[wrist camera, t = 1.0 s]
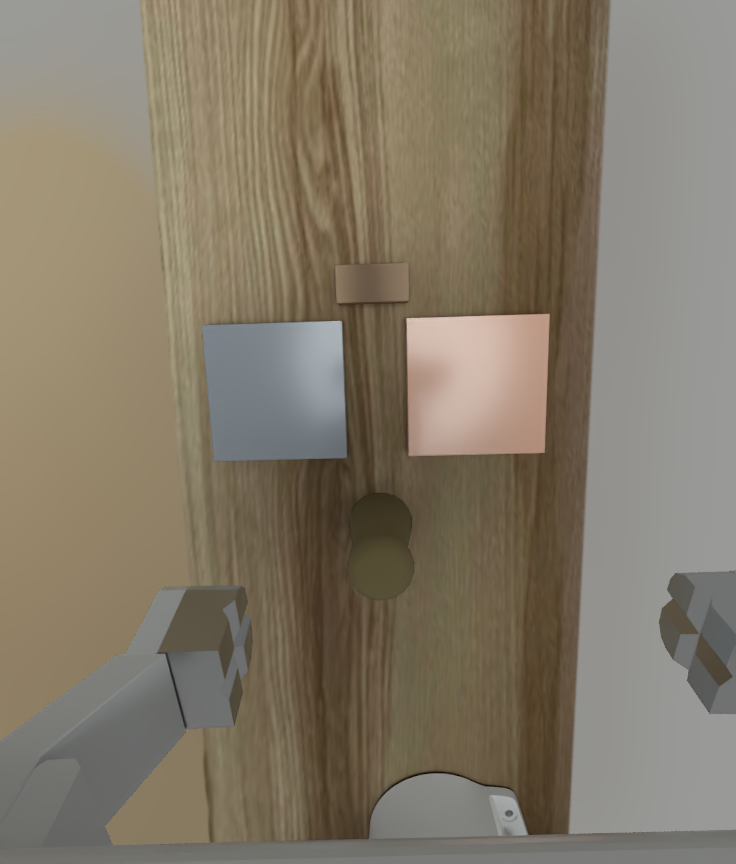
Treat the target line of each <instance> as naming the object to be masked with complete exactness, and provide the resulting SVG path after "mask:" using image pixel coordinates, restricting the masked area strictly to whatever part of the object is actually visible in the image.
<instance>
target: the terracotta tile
mask: <svg viewBox="0 0 736 864" xmlns="http://www.w3.org/2000/svg"><path fill="white" fill-rule="evenodd" d="M549 316H550V314H529V315H498V316H466V317H435V318H407V319H406V379H407V442H408V455H409V456H432V455H473V454H514V453H545V426H546V399H547V371H548V344H549Z"/></svg>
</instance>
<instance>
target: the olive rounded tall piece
mask: <svg viewBox="0 0 736 864" xmlns="http://www.w3.org/2000/svg"><path fill="white" fill-rule="evenodd" d="M349 527H350V533H351V538H352V543H353V549H352V550H351V552H350V555H349V559H348V563H347V564H348V575H349V577H350V580H351V582H352V585H353V586H354V587H355V588H356V590H357V591H358V592H359V593H361V594H362V595H364V596H365V597H367V598H370V599H374V600H389V599H392V598H395V597H397V596H398V595H400V594H401V593H403V592H404V591H405V590H406V588H407V587H408V586H409V584H410V582H411V579H412V577H413V574H414V560H413V557H412V554H411V551H410V549H409V548H408V544H409V539H410V534H411V528H412V517H411V515H410V512H409V509H408V508H407V506H406V505H405V504H404V502H403V501H401V500H400V499H398V498H397V497H395V496H394V495H390V494H387V493H374V494H371V495H368V496H365V497H364V498H362V499H361V500H360V501H358V502H357V503H356V505H355V506H354V508H353V509H352V511H351V514H350V518H349Z"/></svg>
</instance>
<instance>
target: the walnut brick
mask: <svg viewBox="0 0 736 864" xmlns="http://www.w3.org/2000/svg"><path fill="white" fill-rule="evenodd" d="M335 275H336V299H337V304H339V305H351V304H381V303H407V302H408V301H409V267H408V263H387V264H359V265H335Z"/></svg>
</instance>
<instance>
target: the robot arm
mask: <svg viewBox="0 0 736 864" xmlns="http://www.w3.org/2000/svg"><path fill="white" fill-rule="evenodd" d="M667 590H668V592H669V594H670V595H671V597H672V598H673V599H672V600H671V601H670V602H668V603H667V604H666V605H665V606H664V607H663V608H662V611H661V616H660V620H659V624H660V632H661V638H662V640H663V643H664V645H665V648H666V649H667V651H668V652H669V654H670V656H671V657H672V659H673V660H674V661H676V662H677V663H679V664H680V665H682V666H683V667H685V668H686V669H688V670H689V671H688V678H687V681H688V683H689V684H690V686H691V687H692V688H693V690H694V692H695V693H696V695H697V696H698V697H699V699H700V700H701V702H702V703H703V705H704V706H705V708H706V709H707V711H708V712H709V713H710V714H736V571H729V572H698V573H675V575H674V576H673V577H672V578H671V579H670V583H669V585H668V588H667ZM246 606H247V597H246V592H245V588H244V587H243V586H190V587H164V588H162V589H161V590H160V591H159V592H158V593H157V595H156V597H155V599H154V601H153V603H152V605H151V607H150V608H149V610H148V612H147V614H146V616H145V618H144V620H143V622H142V624H141V626H140V627H139V629H138V631H137V633H136V635H135V637H134V639H133V641H132V643H131V644H130V646H129V648H128V650H127V652H126V654H125V655H116V656H115V657H114V658H112V659H111V660H109V661H108V662H107V663H105V664H104V665H103V666H101V667H100V668H99V669H97V670H96V671H94V672H93V673H92V674H90V675H89V676H88V677H86V678H85V679H84V680H83V681H81V682H80V683H78V684H77V685H76V686H74V687H73V688H71V689H70V690H69V691H68V692H66V693H65V694H63V695H62V696H60V697H59V698H58V699H56V700H55V701H54V702H52V703H51V704H50V705H48V706H47V707H46V708H44V709H43V710H41V711H40V712H39V713H37V714H36V715H35V716H33V717H32V718H31V719H29V720H28V721H27V722H25V723H24V724H23V725H21V726H20V727H18V728H17V729H16V730H14V731H13V732H12V733H10V734H9V735H8V736H6V737H5V738H4V739H2V740H1V741H0V864H736V830H714V831H675V832H673V831H672V832H637V833H636V832H633V833H593V834H554V835H529V834H528V831H527V828H526V825H525V822H524V819H523V816H522V813H521V810H520V807H519V804H518V801H517V798H516V795H515V793H514V792H513V791H512V790H510V789H507V788H500V787H486V786H482V785H479V784H477V783H475V782H472V781H470V780H468V779H465V778H463V777H459V776H455V775H450V774H440V773H435V774H424V775H419V776H415V777H412V778H409V779H407V780H404V781H402V782H400V783H399V784H397V785H395V786H394V787H392V788H391V789H390V790H389V791H388V792H386V793H385V794H384V795H383V797H382V798H381V799H380V800H379V802H378V803H377V805H376V807H375V808H374V811H373V813H372V816H371V821H370V831H369V838H368V839H347V840H305V841H264V842H224V843H184V844H150V845H149V844H147V845H113V844H112V842H111V839H110V837H109V835H108V832H107V830H106V827H105V825H106V824H107V823H108V822H109V821H110V820H111V818H112V817H113V816H114V815H115V814H116V812H118V810H119V809H120V808H121V807H122V806H123V805H124V803H125V802H126V801H127V800H128V799H129V797H131V795H132V794H133V793H134V792H135V791H136V790H137V788H138V787H139V786H140V785H141V784H142V782H143V781H144V780H145V779H146V778H147V777H148V775H149V774H150V773H151V772H152V771H153V770H154V769H155V768H156V766H157V765H158V764H159V763H160V762H161V760H162V759H163V758H164V757H165V756H166V755H167V754H168V752H169V751H170V750H171V749H172V748H173V747H174V746H175V744H176V743H177V742H178V741H179V740H180V738H181V737H182V736H183V735H184V734H185V733H186V730H185V729H196V728H215V727H233V726H234V725H235V721H236V717H237V713H238V709H239V705H240V701H241V698H242V694H243V692H242V686H241V680H240V679H241V678H242V677H243V676H244V675H245V674H246V673H247V672H248V669H249V665H250V660H251V653H252V643H253V640H252V626H251V620H250V619H249V618H248V617H247V616H246V615H245V614H244V613H245V609H246ZM507 810H508V811H507Z"/></svg>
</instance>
